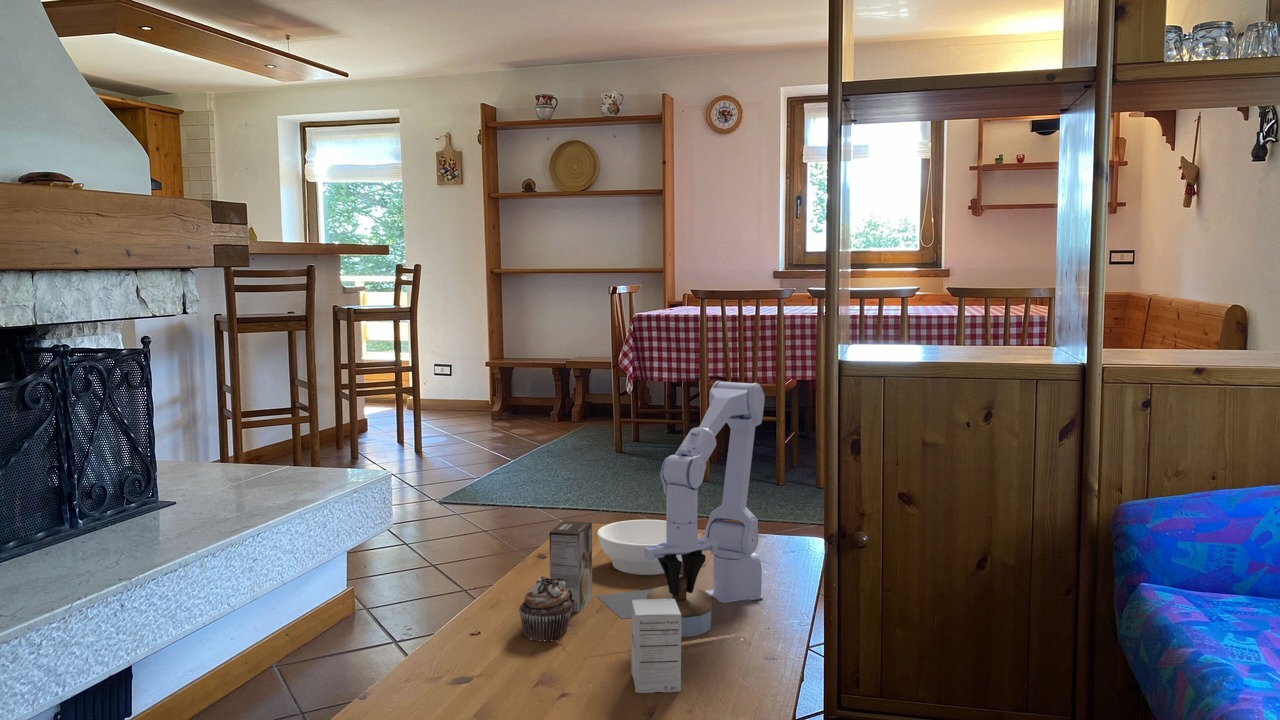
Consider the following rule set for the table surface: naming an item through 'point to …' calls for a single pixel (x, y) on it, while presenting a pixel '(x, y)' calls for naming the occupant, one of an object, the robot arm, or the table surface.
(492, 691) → the table surface
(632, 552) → the bowl
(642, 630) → the supplement box
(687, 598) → the lid
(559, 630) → the cupcake
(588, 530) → the coffee box
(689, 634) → the small bowl
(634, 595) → the mat
